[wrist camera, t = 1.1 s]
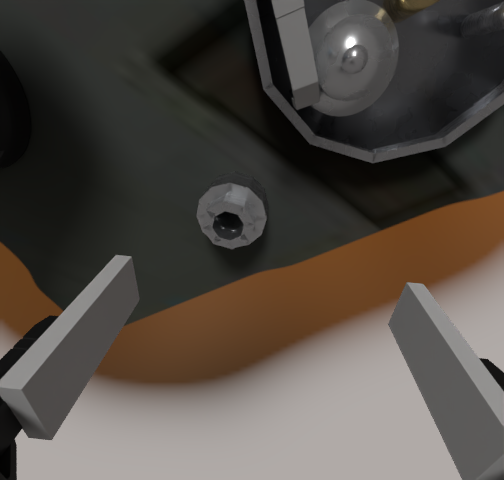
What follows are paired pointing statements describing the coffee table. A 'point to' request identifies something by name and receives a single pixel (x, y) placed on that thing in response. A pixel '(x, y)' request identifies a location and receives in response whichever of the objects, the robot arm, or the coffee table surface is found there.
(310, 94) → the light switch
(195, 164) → the coffee table surface
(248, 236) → the grey nut
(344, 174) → the coffee table surface
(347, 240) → the coffee table surface
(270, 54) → the carrier
